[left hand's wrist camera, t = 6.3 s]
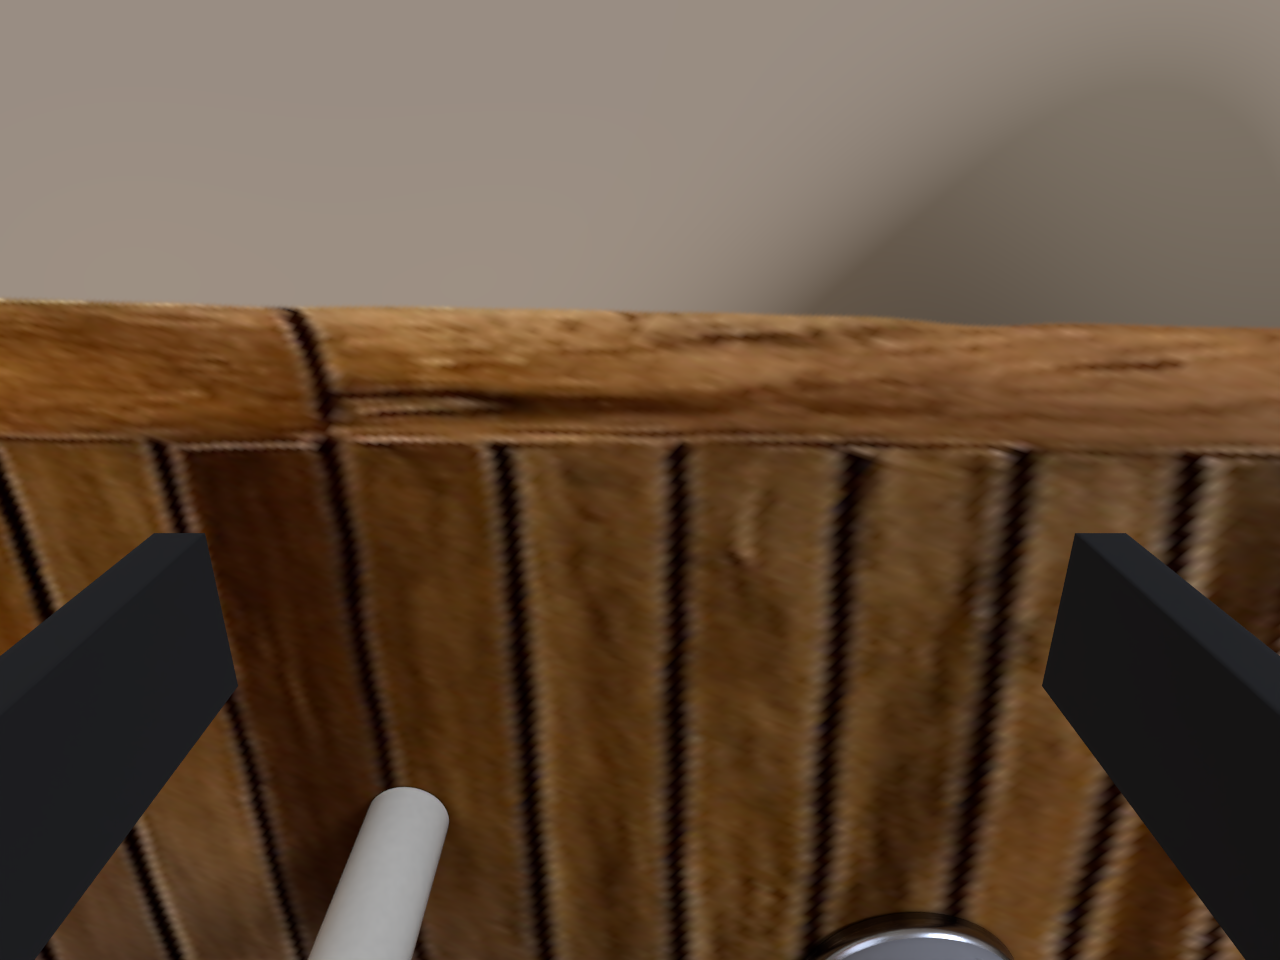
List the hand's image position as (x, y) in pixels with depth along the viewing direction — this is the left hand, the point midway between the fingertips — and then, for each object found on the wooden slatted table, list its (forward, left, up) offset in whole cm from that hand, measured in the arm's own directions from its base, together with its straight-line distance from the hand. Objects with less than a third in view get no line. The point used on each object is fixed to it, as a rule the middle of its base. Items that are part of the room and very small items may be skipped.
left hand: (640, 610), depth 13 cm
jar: (-30, +16, -27) cm, 44 cm away
